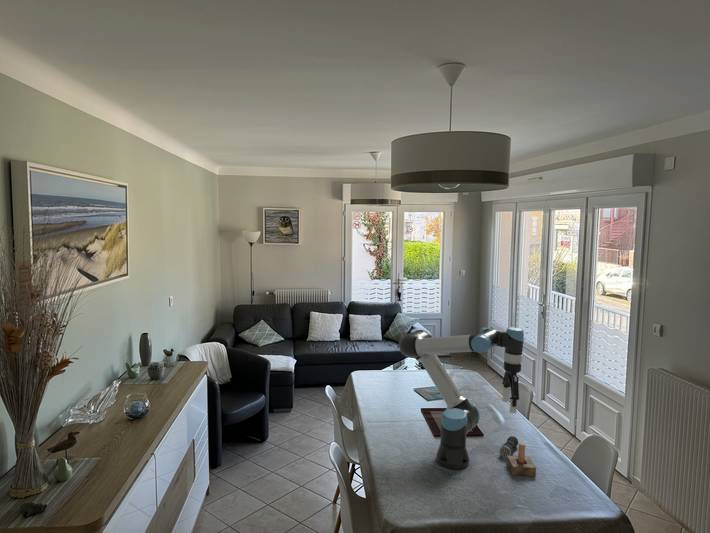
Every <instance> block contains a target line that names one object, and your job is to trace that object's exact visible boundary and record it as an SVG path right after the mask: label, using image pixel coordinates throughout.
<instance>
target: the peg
mask: <svg viewBox="0 0 710 533" xmlns="http://www.w3.org/2000/svg"><path fill="white" fill-rule="evenodd" d="M517 450H518V451H517V456H518V464H524V460H525V455H526V444H525V443H524V442H523V443H522V442H518V449H517Z"/></svg>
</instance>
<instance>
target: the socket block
mask: <svg viewBox="0 0 710 533" xmlns="http://www.w3.org/2000/svg"><path fill="white" fill-rule="evenodd" d="M506 456H507V455H506ZM506 465H507V467H508V469H509V471H510V473H511V475H512V476H518V477H521V476H523V477H536V476H537V467H536V465H535V463H534V462H533V461H532V459H531V457H530V456H525V460H524V464H518V455H510V456H507V458H506Z"/></svg>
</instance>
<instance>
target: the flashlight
mask: <svg viewBox="0 0 710 533" xmlns="http://www.w3.org/2000/svg"><path fill="white" fill-rule="evenodd" d="M517 446H519V440H518V438H517V437H516V436H514V435H511V436H509V437H508V438H507V439H506V442H505V443H503V444H502V445H501V446H500V448H499V454H500V456H501V457H503V458H505V459H507V456H512V454H513V451H514V449H516V448H517Z"/></svg>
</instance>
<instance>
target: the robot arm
mask: <svg viewBox="0 0 710 533" xmlns="http://www.w3.org/2000/svg"><path fill="white" fill-rule="evenodd" d="M524 335H525V332H524V330H523V329H521V328H519V327H514V326H512V327H511V326H510V327H508V328H506V330H502V329H501V330H500V329H497V328H495V329H494V328H491V327H482V328H480V329H479V333H476V334H475V333H473V334H465V335H463V334H461V335H449V336H436V337H434V336H433V334H432V333H431V332H430V331H428V330H426V329H417V330H414V331H411V332H409V333H406V334H404V335H403V336H402V337H401V338H400V340H399V343H398V348H399V352H400V353H401V354H402V355H403V356H405V357H406V358H414V359H415V360H416V362H420V363H421V364H422V366H423V368H424V369H425V371H426V373H427V375H428V376H429V377H430V379H431V381H432V382H433V384H434V386H435V388H436V389H437V392H439V394H440V396H441V398H442V399H443V400H444V401H443V402H445V404H446V409H445V410H444V411H443V412H442V413H441V418H440V440H439V441H440V444H439V447H438V449H437V451H436V454H435V461H436V463H437V464H438V465H439V466H441V467H442V468H444V469H445V468H446V469H450V470H463V469H465V468H468V466H469V464H470V457H469V453H468V450H467V434H468V433H469V432H470V431H472V429H474V428H476V426H477V425H478V423H479V422H480V420H481V419H480V417H481V413H480V411H479V408H478V407H477V405H476V404H474V403H473V402H471V401H470V400H469V399H468V397H466V396H463V395H462V394H461V392H460V391H459V389H458V387H457V386H456V384H455V383H454V381H453V380H452V377H451V376H450V374H449V373H448V372H447V370H446V368H445V366H444V365H443V363H442V362H441V360H440V358H439V357H438V355H437V354H448V353H449V354H450V353H452V354H453V353H468V352H470V353H471V352H472V353H473V352H476V353H479V354H482V353H486V352H488V351H490V350H491V349H492V348H494V347H499V348H500V347H501V348H504V357H503V358H504V359H503V360H504V362H503V370H504V371H505V372H504V375H503V378H502V387H503V391H502V402H508V403H509V414H517V408H518V401H519V400H520V393H519V392H520V389H519V388H520V387H519V376H518V375H517V373H520V372H521V371H522V362H523V361H522V360H523V358H524V355H523V350H524V349H523V347H524V341H525V339H524V337H525V336H524ZM510 396H511V397H510ZM509 401H510V402H509Z"/></svg>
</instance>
